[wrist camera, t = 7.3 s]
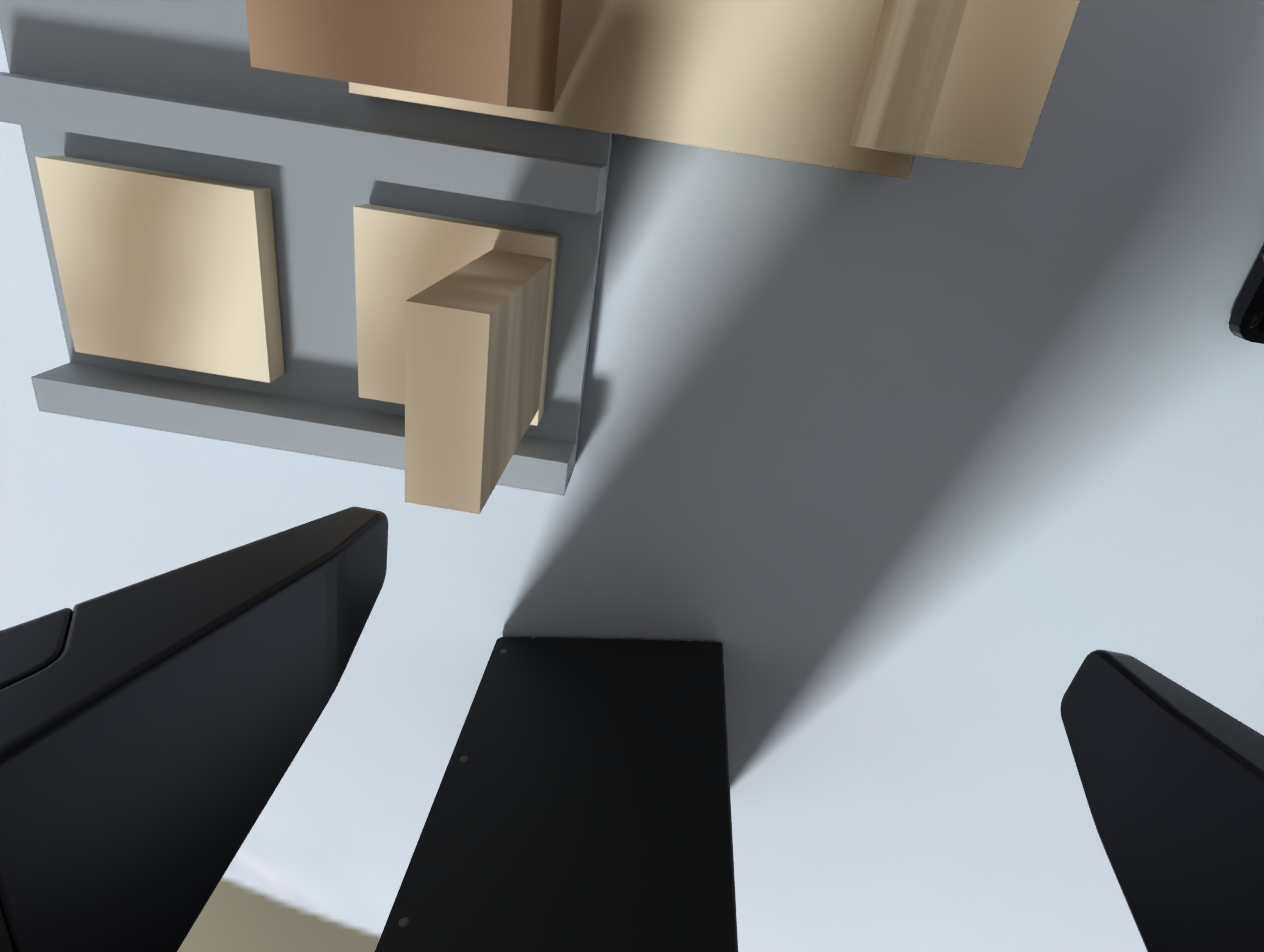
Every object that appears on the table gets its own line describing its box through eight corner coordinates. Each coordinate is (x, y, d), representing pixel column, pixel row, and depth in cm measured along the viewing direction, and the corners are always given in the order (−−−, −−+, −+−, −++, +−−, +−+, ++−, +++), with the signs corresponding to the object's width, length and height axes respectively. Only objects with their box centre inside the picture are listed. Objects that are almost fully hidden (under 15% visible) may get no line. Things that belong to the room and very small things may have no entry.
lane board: (654, -224, 15) (648, -273, 13) (574, 465, 22) (563, 495, 20) (-51, -330, 15) (-151, -391, 13) (92, 387, 22) (39, 410, 20)
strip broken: (559, 233, 18) (491, 285, 12) (542, 415, 21) (478, 535, 15) (60, 155, 19) (-250, 168, 13) (96, 344, 21) (-153, 433, 15)
